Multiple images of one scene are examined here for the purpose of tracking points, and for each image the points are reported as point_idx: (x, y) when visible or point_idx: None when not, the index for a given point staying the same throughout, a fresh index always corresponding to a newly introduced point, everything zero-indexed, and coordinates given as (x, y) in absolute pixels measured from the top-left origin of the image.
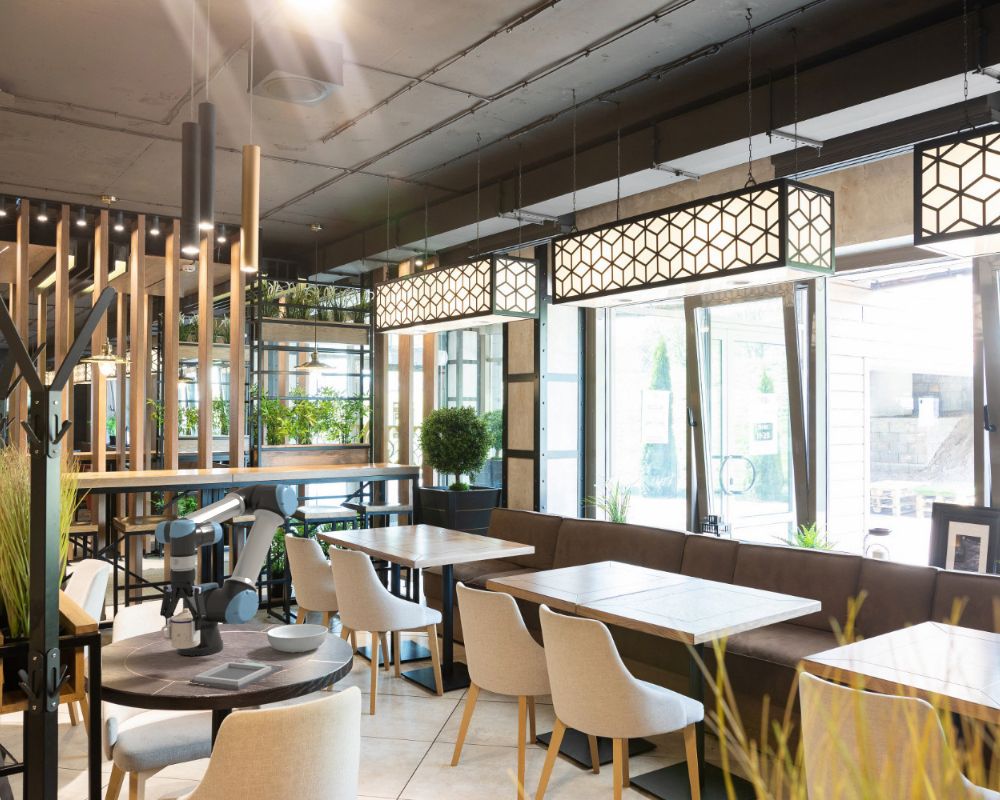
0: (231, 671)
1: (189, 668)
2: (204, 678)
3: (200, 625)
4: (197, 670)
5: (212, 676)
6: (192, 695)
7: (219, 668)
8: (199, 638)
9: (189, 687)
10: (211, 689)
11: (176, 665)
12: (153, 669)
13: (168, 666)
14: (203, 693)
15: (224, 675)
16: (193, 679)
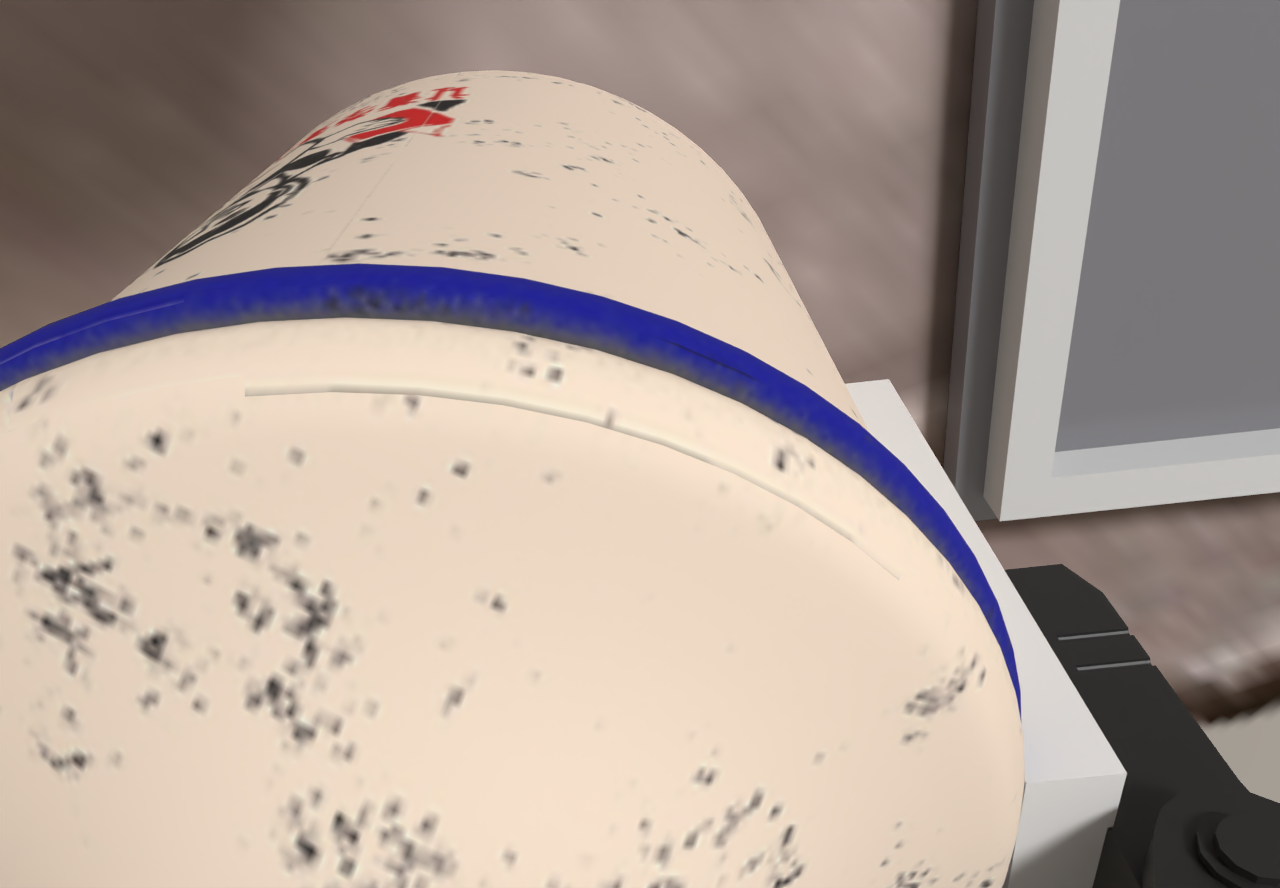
0: (1270, 36)
1: (443, 53)
2: (1147, 500)
3: (1145, 669)
4: (632, 79)
5: (1118, 318)
6: (1170, 685)
7: (1096, 104)
8: (788, 275)
9: (1005, 567)
10: (1262, 525)
11: (126, 17)
12: (62, 303)
13: (81, 113)
14: (1242, 622)
15: (1253, 222)
16: (962, 482)
